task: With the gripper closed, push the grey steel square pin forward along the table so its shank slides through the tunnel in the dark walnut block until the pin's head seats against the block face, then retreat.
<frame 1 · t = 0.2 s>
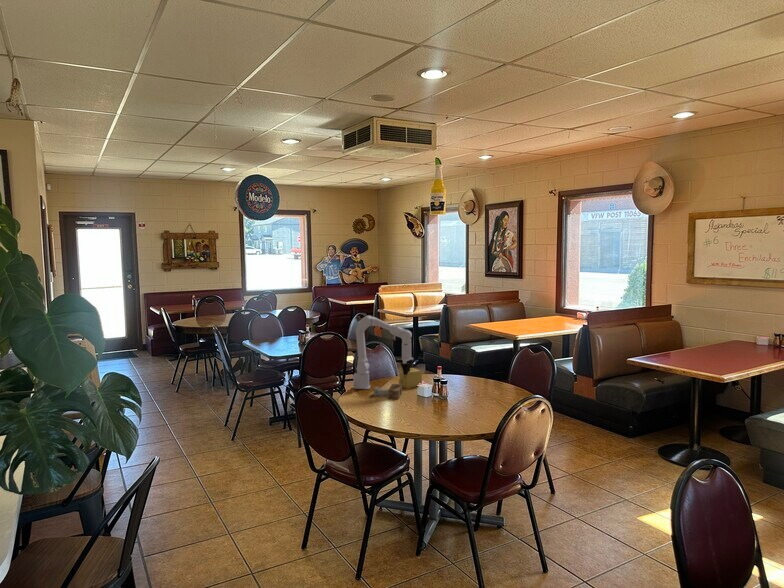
hand: (406, 372, 326), 10 cm above the table, fingers open, 7 cm apart
cheese: (410, 386, 335), on the table
steel key pin: (376, 395, 315), on the table
walnut tunnel block: (395, 395, 313), on the table
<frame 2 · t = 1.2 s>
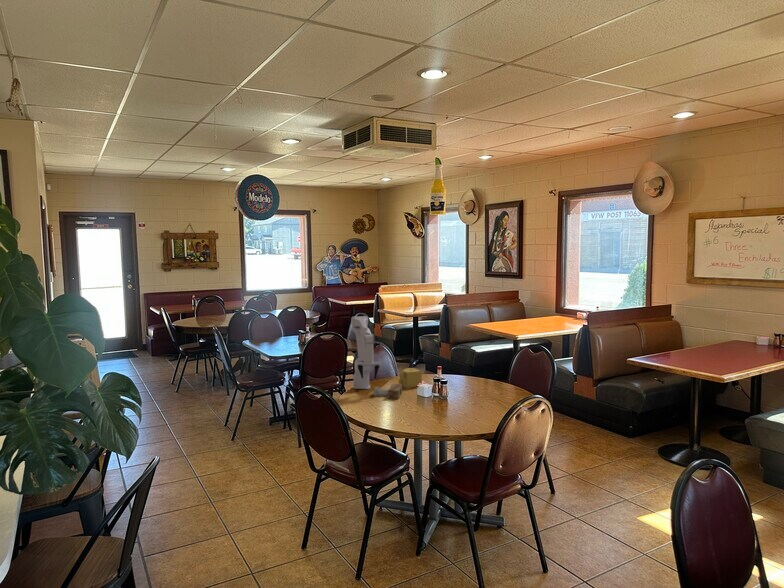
hand: (368, 378, 316), 9 cm above the table, fingers open, 7 cm apart
nothing on the table moved.
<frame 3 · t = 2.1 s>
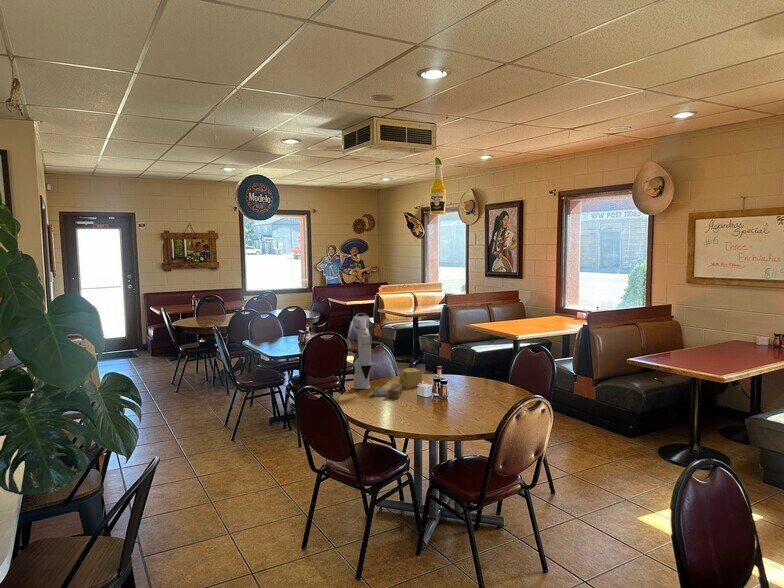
hand: (366, 378, 315), 9 cm above the table, fingers closed
nothing on the table moved.
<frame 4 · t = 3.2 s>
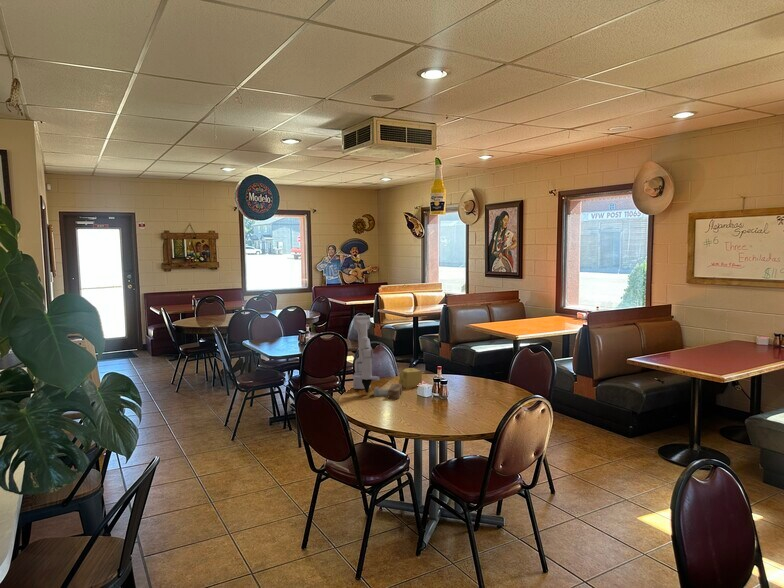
hand: (367, 392, 316), 1 cm above the table, fingers closed
nothing on the table moved.
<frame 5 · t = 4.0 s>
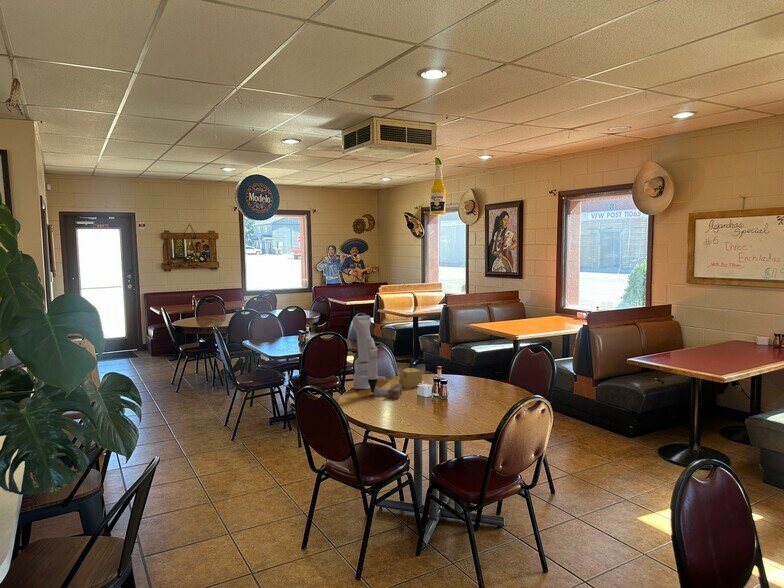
hand: (372, 392, 315), 1 cm above the table, fingers closed
steel key pin: (376, 394, 315), on the table, touching gripper
everything else where it was.
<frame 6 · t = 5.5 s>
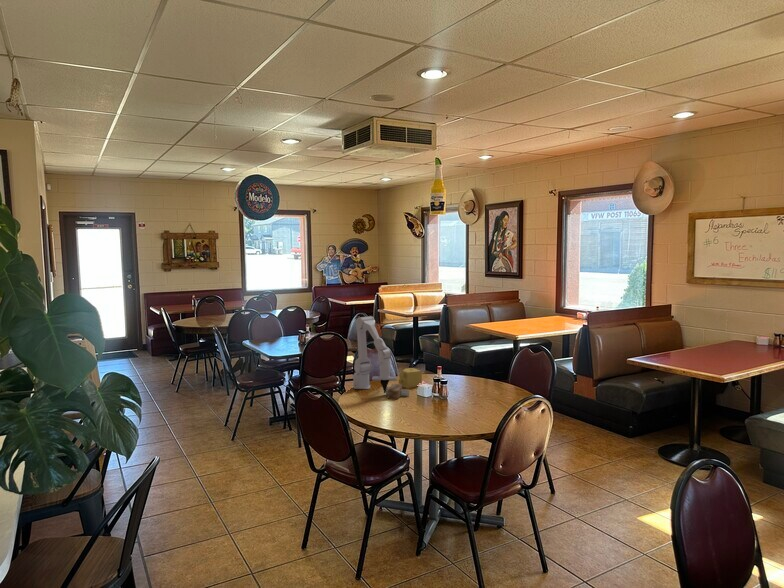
hand: (384, 392, 314), 1 cm above the table, fingers closed
steel key pin: (388, 395, 314), on the table, touching gripper, walnut tunnel block
everything else where it was.
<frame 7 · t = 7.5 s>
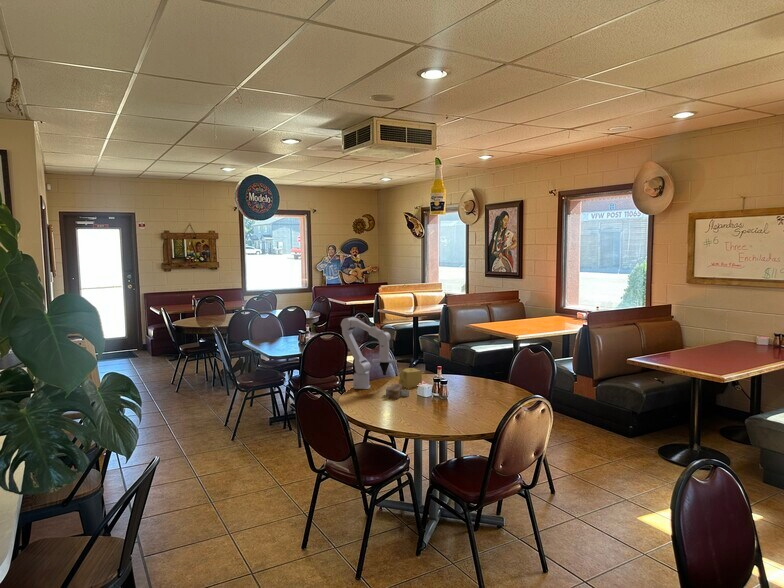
hand: (384, 374, 324), 9 cm above the table, fingers closed
steel key pin: (388, 395, 314), on the table
everything else where it was.
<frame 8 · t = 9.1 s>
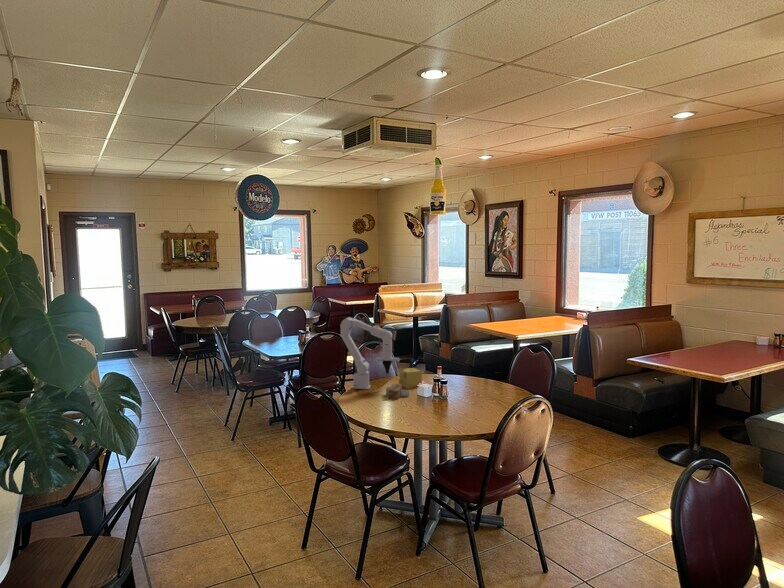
hand: (387, 373, 328), 9 cm above the table, fingers closed
nothing on the table moved.
at the end: steel key pin 0.3 cm from the target spot on the walnut tunnel block, point 0.0 cm above the walnut tunnel block's base; steel key pin moved 7.0 cm from its start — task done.
